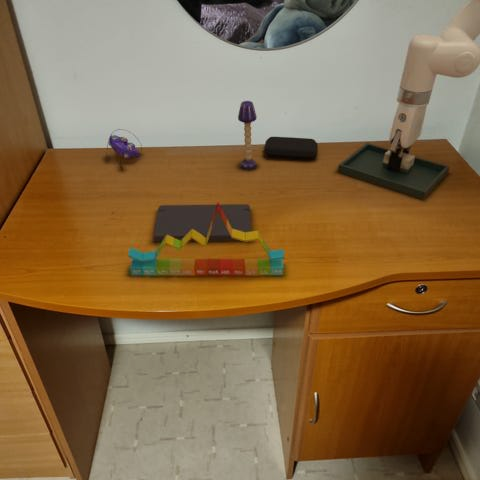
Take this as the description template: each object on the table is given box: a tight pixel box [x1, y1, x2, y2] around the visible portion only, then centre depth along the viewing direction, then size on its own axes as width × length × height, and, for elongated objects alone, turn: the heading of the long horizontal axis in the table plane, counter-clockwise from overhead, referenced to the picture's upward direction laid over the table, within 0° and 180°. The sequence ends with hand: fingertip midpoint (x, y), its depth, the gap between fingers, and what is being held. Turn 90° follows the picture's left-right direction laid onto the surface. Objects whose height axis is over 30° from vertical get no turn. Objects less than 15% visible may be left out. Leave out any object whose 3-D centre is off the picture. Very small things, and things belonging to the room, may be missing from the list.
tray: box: [337, 142, 450, 201], centre depth 126 cm, size 24×17×2 cm
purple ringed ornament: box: [105, 128, 143, 170], centre depth 131 cm, size 10×8×10 cm
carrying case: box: [263, 136, 319, 161], centre depth 135 cm, size 11×3×15 cm
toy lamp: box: [237, 100, 258, 171], centre depth 124 cm, size 5×5×17 cm
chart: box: [127, 201, 285, 276], centre depth 92 cm, size 30×3×15 cm, turn 90°
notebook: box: [153, 203, 253, 243], centre depth 109 cm, size 13×2×21 cm
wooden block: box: [382, 150, 416, 173], centre depth 126 cm, size 7×4×4 cm, turn 53°
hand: (396, 166), depth 128 cm, fingers closed on wooden block, 3 cm apart
